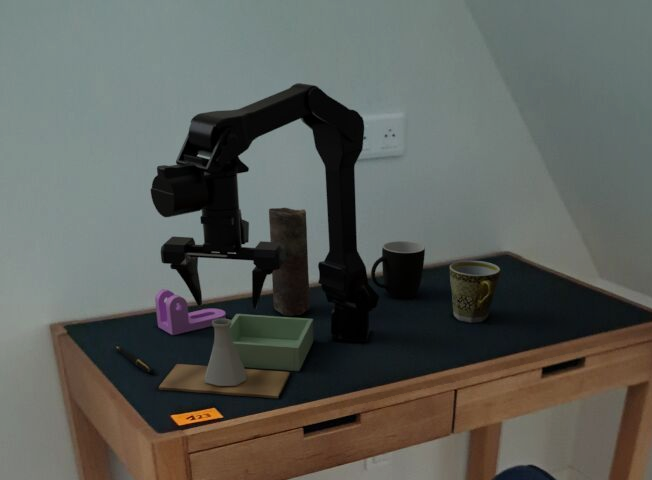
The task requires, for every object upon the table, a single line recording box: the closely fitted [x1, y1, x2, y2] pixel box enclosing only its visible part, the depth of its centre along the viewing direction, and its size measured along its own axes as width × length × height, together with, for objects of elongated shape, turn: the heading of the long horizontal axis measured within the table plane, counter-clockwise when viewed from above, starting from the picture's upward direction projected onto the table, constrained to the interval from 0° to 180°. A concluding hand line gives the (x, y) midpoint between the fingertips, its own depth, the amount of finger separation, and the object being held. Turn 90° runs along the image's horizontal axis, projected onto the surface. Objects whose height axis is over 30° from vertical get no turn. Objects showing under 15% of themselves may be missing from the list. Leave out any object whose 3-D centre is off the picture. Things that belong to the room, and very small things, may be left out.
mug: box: [370, 240, 426, 300], centre depth 183 cm, size 12×9×10 cm
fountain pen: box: [115, 345, 153, 374], centre depth 151 cm, size 14×1×2 cm, turn 38°
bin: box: [230, 313, 314, 372], centre depth 155 cm, size 15×15×4 cm
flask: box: [205, 317, 246, 386], centre depth 142 cm, size 7×7×10 cm
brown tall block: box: [268, 207, 311, 317], centre depth 170 cm, size 8×7×20 cm
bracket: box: [154, 288, 227, 336], centre depth 166 cm, size 13×6×7 cm, turn 130°
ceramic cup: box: [449, 260, 501, 324], centre depth 171 cm, size 13×10×10 cm
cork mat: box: [158, 363, 291, 399], centre depth 145 cm, size 20×10×1 cm, turn 83°
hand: (227, 306), depth 140 cm, fingers open, 9 cm apart
